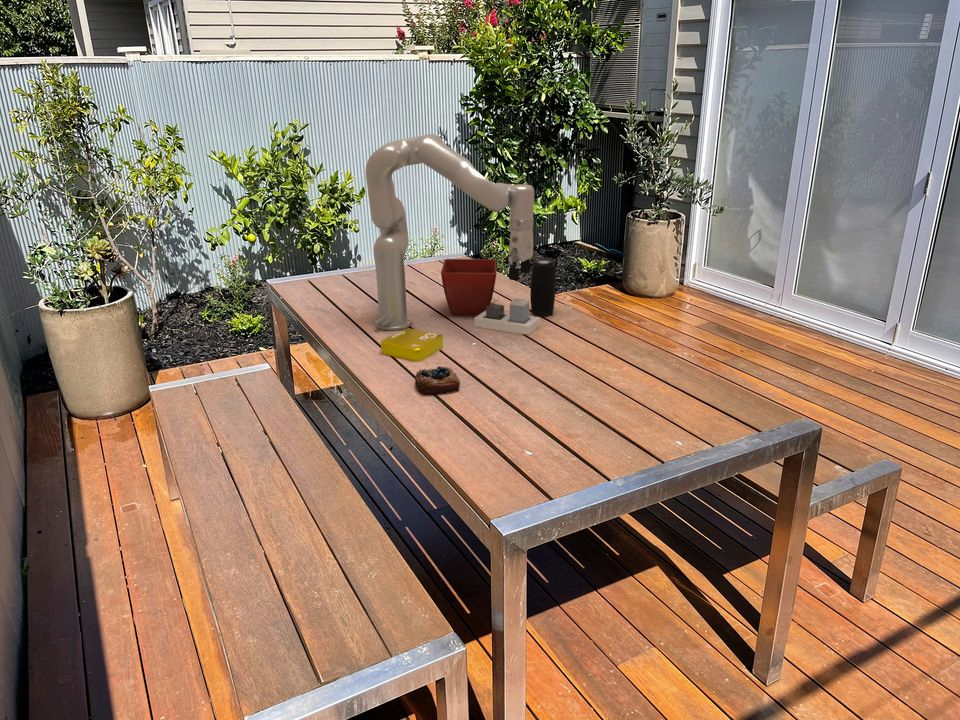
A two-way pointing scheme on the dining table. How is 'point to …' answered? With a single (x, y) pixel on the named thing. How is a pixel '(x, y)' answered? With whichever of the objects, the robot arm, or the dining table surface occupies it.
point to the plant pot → (468, 285)
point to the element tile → (412, 344)
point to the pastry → (436, 381)
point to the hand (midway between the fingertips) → (519, 276)
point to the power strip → (504, 321)
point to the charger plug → (519, 310)
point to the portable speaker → (543, 286)
